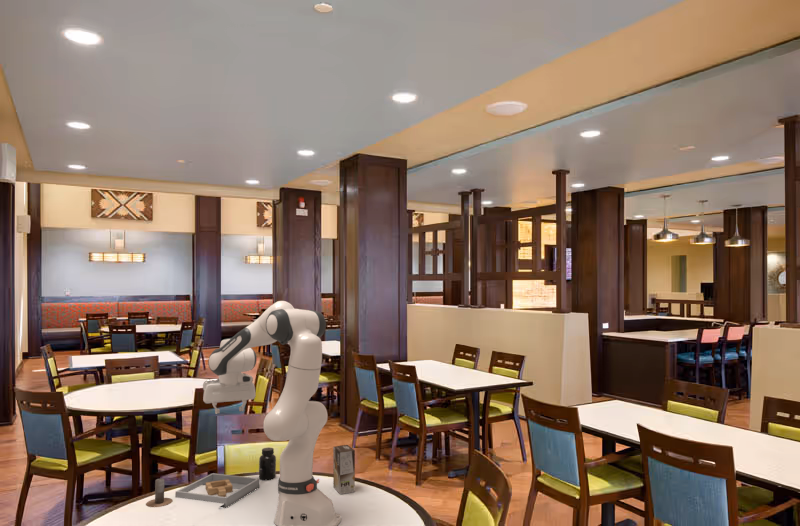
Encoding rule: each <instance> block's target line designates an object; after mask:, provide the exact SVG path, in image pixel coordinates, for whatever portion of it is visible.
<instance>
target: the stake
mask: <svg viewBox="0 0 800 526" xmlns="http://www.w3.org/2000/svg"><path fill="white" fill-rule="evenodd" d="M154 488H155V489H154V499H150V500H148V501H147V502H146V503H145V506H147V507H148V508H162V507H165V506H168V505H170V504H172V503H173V501H174V500H173V499H172V498H169V497H165V478H157V479H155V483H154Z"/></svg>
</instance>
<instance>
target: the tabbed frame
mask: <svg viewBox="0 0 800 526" xmlns="http://www.w3.org/2000/svg"><path fill="white" fill-rule="evenodd" d="M204 486H205V485H204ZM232 488H233V486H232V484H231V483H230V481H229V479H226V480H219V481H212V482H206V486H205V491H206V493H207V495H213V496H221V497H227V494H229V493H230V494H231V493H233V489H232Z"/></svg>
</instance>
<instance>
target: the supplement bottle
mask: <svg viewBox="0 0 800 526" xmlns="http://www.w3.org/2000/svg"><path fill="white" fill-rule="evenodd" d="M274 450H275V449H274V448H273V447H264V448H262V449H261V455H260V457H259V460H258V461H259V463H258V478H259V480H260V481H272V480H274V479H275V478H276V476H277V475H276V474H277V473H276V472H277V471H276V470H277V457H276V454H275V451H274ZM271 479H272V480H271Z"/></svg>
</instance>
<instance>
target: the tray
mask: <svg viewBox="0 0 800 526" xmlns="http://www.w3.org/2000/svg"><path fill="white" fill-rule="evenodd" d="M226 479H229V481H230V483H231V484H232V486H233V488H232V490H235V491H234V492H231V493H230V494H228V495H226V497H221V496H218V495H208V494H203V493H195V492H191V491H192V490H195V489H196V488H198V487H200V486H206V482H212V481H219V480H226ZM257 488H258V489H259V488H260V479H259V477H258V478H256V477H249V476H248V477H247V476H241V475H240V476H239V475H232V474H223V473H214V472H213V473H210V474H207V475H206V476H204V477H201V479H198V480H195V481H194V482H192V483H190V484H188V485H186V486H184V487H182V488H180V489H178V490H177V491H175V498H178V499H184V500H185V499H186V500H192V501H193V500H194V501H200V502H201V501H202V502H208V503H216V504H222V505H220V506H219V508H221V507H225V508H224V509H227V508H229V507H230V506H232V505H233V503H234V502H235V503H237V502H239V501H240V500H242V499H244V498H245V497H247V496H248V495H250V494H251V493H253V492H254V490H255V489H256V490H258V489H257ZM256 490H255V491H256ZM252 491H253V492H252ZM250 492H251V493H250ZM249 493H250V494H249ZM247 494H248V495H247ZM246 495H247V496H246ZM244 496H245V497H244ZM241 498H242V499H241ZM239 499H240V500H239ZM236 501H237V502H236ZM235 503H234V504H235ZM231 504H232V505H231ZM228 506H229V507H228ZM226 507H227V508H226Z"/></svg>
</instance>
